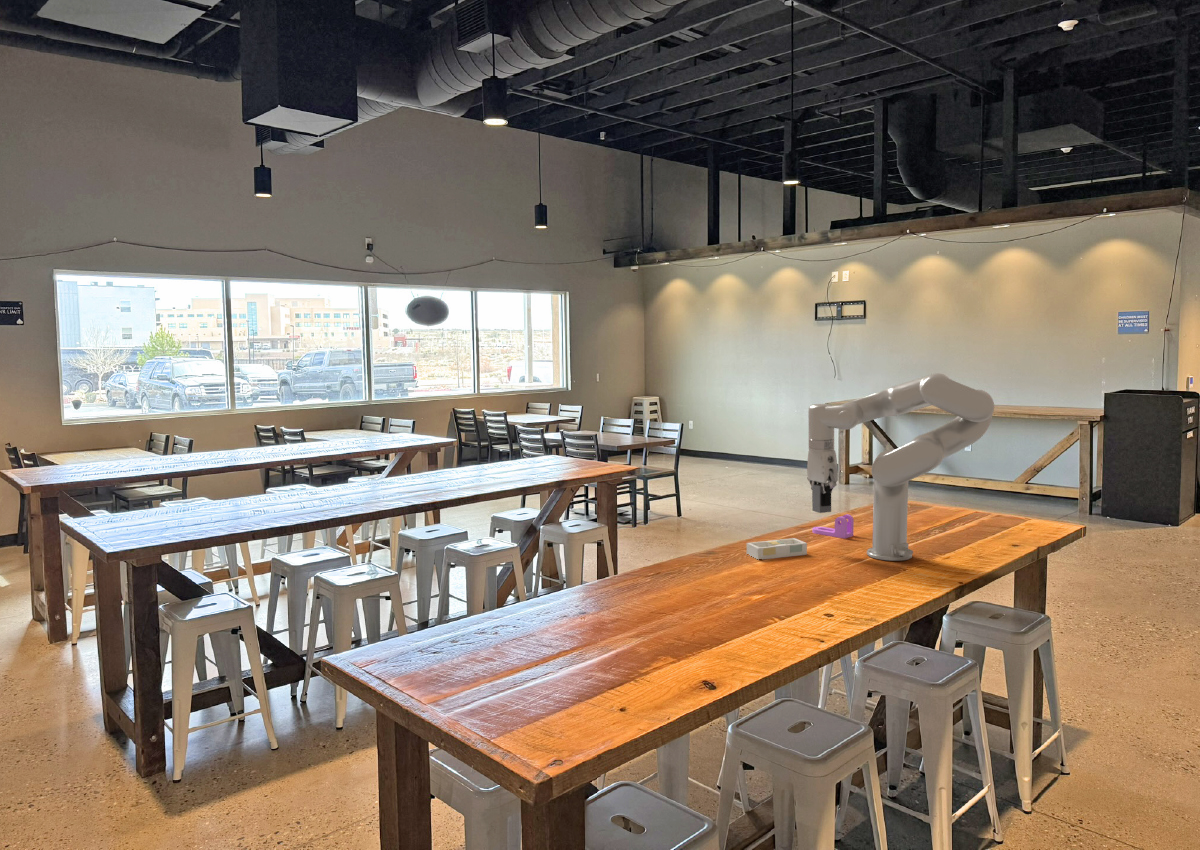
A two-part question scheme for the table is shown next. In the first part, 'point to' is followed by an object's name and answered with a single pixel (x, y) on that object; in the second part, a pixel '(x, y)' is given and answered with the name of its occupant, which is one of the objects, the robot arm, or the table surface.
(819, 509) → the plug
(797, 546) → the socket block
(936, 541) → the table surface
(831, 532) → the bracket
